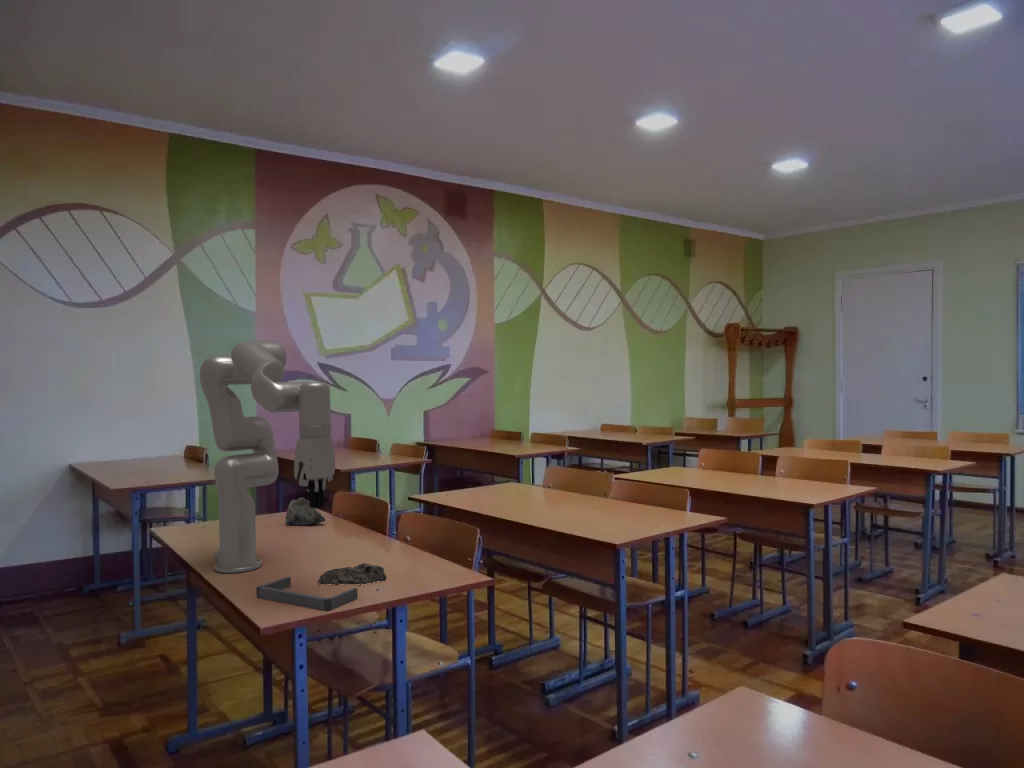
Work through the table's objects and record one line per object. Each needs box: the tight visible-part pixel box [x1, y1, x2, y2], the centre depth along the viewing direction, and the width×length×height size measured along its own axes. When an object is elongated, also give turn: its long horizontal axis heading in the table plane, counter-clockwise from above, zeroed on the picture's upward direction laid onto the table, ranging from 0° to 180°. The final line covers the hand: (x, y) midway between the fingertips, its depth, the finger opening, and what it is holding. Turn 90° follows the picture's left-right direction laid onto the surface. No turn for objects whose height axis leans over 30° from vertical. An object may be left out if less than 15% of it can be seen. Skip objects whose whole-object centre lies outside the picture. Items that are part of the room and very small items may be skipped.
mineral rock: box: [285, 497, 326, 526], centre depth 260 cm, size 13×11×10 cm
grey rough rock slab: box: [317, 562, 387, 586], centre depth 191 cm, size 19×4×15 cm
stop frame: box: [255, 576, 359, 612], centre depth 175 cm, size 23×10×2 cm, turn 61°
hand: (316, 507), depth 178 cm, fingers closed
